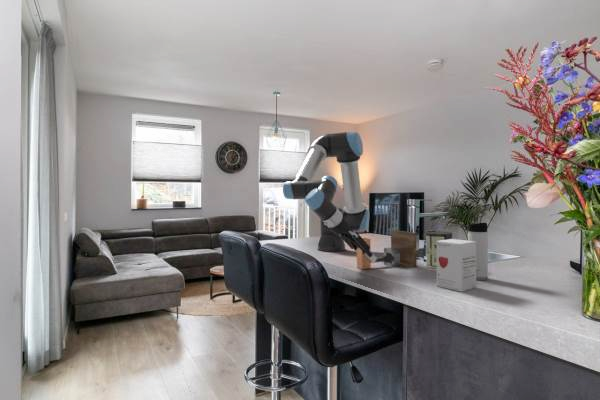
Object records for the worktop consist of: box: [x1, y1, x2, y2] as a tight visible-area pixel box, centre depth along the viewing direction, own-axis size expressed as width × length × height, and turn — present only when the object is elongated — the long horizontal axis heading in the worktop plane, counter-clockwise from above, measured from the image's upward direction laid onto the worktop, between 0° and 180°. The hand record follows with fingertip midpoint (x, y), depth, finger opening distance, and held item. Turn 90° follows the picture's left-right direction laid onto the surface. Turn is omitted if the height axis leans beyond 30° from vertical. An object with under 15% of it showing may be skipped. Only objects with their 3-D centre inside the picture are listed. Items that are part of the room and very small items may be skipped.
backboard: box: [390, 229, 418, 269], centre depth 155 cm, size 5×14×14 cm, turn 24°
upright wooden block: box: [356, 237, 389, 270], centre depth 149 cm, size 14×4×12 cm, turn 114°
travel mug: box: [467, 222, 489, 281], centre depth 127 cm, size 6×7×20 cm
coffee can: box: [425, 231, 453, 269], centre depth 149 cm, size 10×10×14 cm
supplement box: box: [436, 238, 477, 292], centre depth 116 cm, size 9×9×15 cm
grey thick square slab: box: [383, 247, 401, 268], centre depth 153 cm, size 3×7×7 cm, turn 24°
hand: (371, 259), depth 149 cm, fingers closed on upright wooden block, 4 cm apart
